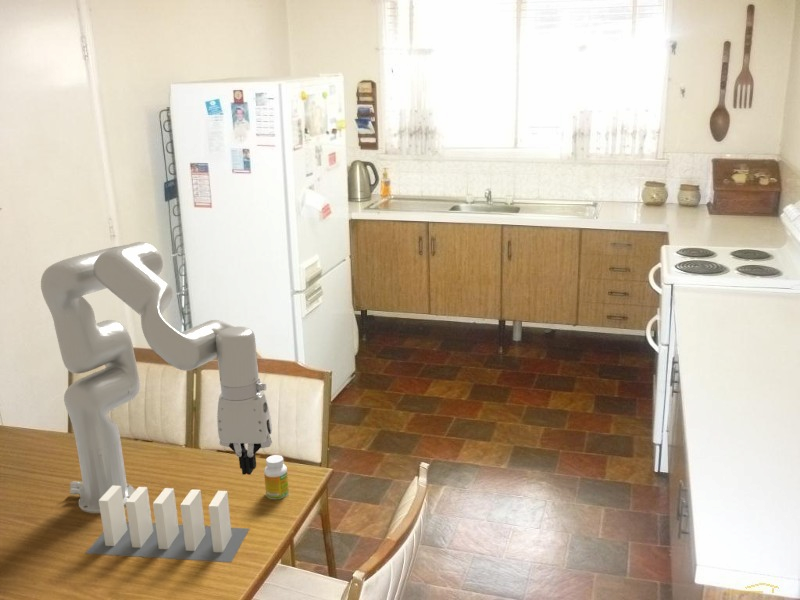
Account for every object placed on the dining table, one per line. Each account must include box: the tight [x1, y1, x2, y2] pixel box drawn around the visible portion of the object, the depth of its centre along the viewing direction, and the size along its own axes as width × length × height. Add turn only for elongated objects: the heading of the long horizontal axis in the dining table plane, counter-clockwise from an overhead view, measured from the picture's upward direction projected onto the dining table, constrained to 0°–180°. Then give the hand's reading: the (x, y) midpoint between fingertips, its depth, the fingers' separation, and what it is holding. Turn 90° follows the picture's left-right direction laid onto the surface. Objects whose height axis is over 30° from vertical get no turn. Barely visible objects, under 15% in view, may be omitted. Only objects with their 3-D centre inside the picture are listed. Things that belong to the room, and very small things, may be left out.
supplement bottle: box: [263, 454, 290, 500], centre depth 181 cm, size 5×5×10 cm
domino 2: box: [125, 486, 153, 548], centre depth 163 cm, size 2×6×11 cm, turn 173°
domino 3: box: [152, 487, 179, 549], centre depth 163 cm, size 2×6×11 cm, turn 173°
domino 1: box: [99, 485, 127, 546], centre depth 164 cm, size 2×6×11 cm, turn 173°
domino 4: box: [180, 489, 205, 551], centre depth 162 cm, size 2×6×11 cm, turn 173°
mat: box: [85, 521, 250, 563], centre depth 164 cm, size 32×12×1 cm, turn 83°
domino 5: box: [208, 490, 232, 552], centre depth 161 cm, size 2×6×11 cm, turn 174°
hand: (248, 471), depth 157 cm, fingers closed
